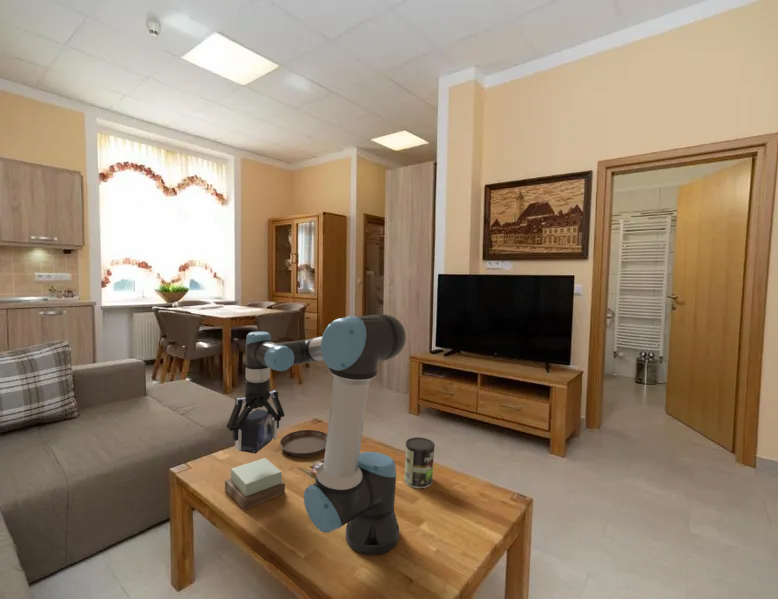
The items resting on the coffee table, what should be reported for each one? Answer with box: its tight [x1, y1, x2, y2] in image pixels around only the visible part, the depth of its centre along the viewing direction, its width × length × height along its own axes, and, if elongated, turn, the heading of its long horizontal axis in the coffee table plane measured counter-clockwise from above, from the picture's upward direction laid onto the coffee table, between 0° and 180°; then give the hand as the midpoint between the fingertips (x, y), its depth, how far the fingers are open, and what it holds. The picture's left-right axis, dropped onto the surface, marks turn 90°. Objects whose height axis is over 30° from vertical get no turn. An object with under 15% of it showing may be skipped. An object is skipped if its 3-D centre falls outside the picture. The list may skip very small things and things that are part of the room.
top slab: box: [230, 457, 283, 496], centre depth 129 cm, size 12×12×4 cm
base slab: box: [224, 478, 286, 511], centre depth 129 cm, size 14×14×4 cm
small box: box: [240, 408, 274, 454], centre depth 128 cm, size 11×6×10 cm, turn 168°
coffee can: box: [403, 437, 436, 490], centre depth 140 cm, size 10×10×14 cm
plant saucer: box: [279, 429, 327, 458], centre depth 162 cm, size 21×21×3 cm
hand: (256, 443), depth 129 cm, fingers closed on small box, 12 cm apart
